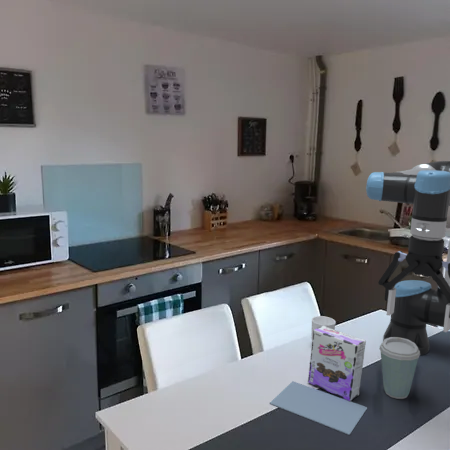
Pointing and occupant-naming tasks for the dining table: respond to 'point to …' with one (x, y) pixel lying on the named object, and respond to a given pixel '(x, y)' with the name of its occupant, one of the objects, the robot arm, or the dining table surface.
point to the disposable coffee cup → (398, 365)
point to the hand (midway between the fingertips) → (417, 321)
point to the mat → (320, 407)
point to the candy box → (336, 362)
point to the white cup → (322, 323)
